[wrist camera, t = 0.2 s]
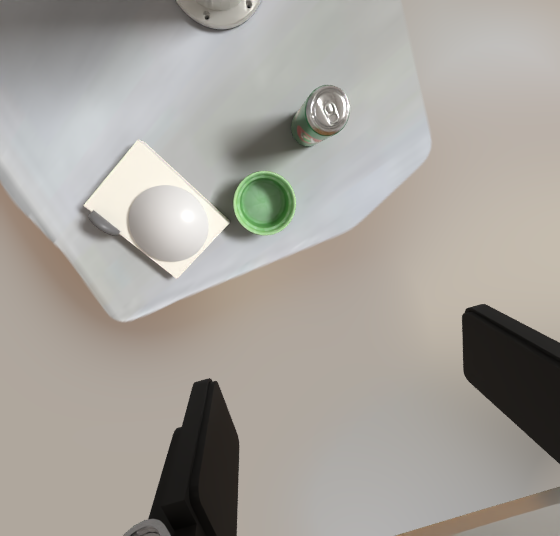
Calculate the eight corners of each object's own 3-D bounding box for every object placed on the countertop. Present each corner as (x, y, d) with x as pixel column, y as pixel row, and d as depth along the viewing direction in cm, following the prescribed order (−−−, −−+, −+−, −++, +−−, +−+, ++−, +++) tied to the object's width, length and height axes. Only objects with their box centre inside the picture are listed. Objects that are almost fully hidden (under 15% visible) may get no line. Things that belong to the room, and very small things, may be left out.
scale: (90, 207, 41) (72, 210, 37) (144, 141, 39) (132, 137, 35) (177, 276, 46) (170, 286, 41) (230, 220, 44) (228, 225, 40)
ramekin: (240, 234, 45) (239, 240, 41) (229, 176, 42) (227, 176, 38) (294, 225, 46) (299, 230, 41) (287, 167, 43) (291, 166, 38)
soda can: (316, 102, 40) (343, 72, 29) (329, 137, 42) (359, 122, 31) (284, 118, 40) (299, 94, 29) (298, 152, 42) (317, 142, 31)
